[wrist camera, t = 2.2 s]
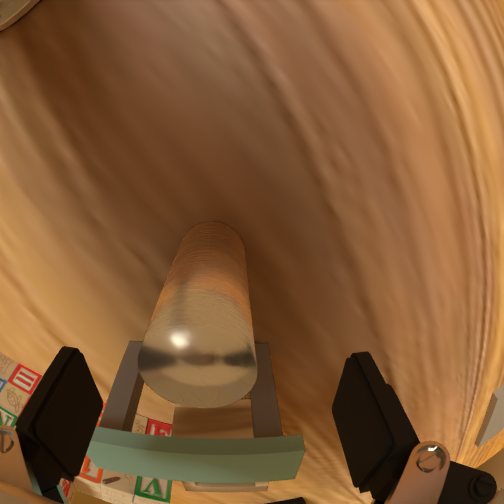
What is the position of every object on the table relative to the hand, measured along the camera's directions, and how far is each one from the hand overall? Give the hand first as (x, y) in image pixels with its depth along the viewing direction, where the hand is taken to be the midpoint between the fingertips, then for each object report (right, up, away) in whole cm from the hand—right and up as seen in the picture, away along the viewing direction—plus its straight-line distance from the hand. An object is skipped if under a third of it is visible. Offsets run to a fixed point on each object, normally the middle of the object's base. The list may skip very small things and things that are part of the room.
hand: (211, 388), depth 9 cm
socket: (-1, -12, +16) cm, 20 cm away
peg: (-1, +5, +9) cm, 10 cm away
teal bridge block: (-3, -3, +12) cm, 13 cm away
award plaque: (+58, -21, +24) cm, 66 cm away
